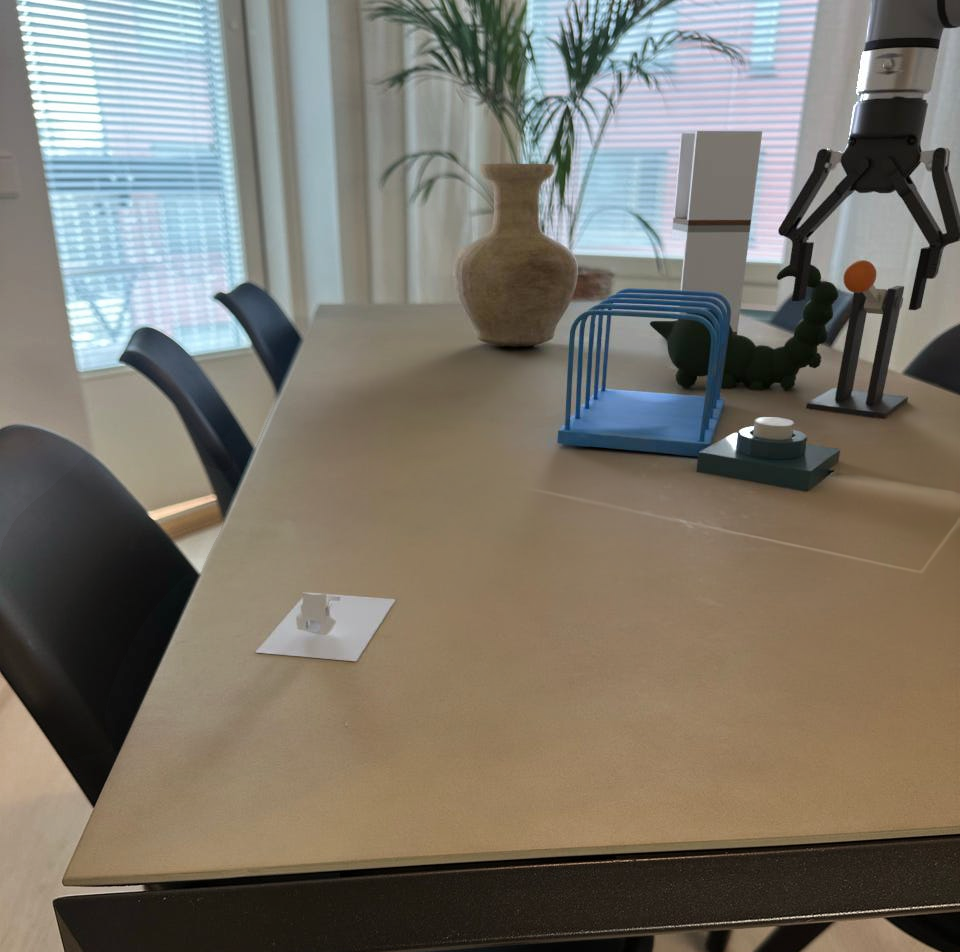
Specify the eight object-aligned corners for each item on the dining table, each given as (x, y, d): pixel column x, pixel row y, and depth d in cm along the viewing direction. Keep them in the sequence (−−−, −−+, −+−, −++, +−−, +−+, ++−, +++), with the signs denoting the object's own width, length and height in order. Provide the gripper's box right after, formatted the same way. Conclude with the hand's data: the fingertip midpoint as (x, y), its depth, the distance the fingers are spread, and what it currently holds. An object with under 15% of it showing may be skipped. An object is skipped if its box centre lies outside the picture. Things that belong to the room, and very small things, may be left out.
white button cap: (796, 436, 97) (799, 420, 96) (784, 444, 94) (786, 427, 93) (760, 431, 99) (762, 415, 98) (746, 438, 96) (749, 422, 96)
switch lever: (868, 289, 105) (877, 256, 105) (836, 287, 107) (845, 255, 106) (889, 319, 117) (897, 290, 116) (860, 317, 119) (868, 289, 118)
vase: (513, 360, 156) (516, 163, 142) (429, 344, 171) (425, 164, 157) (599, 345, 169) (609, 163, 156) (515, 331, 184) (517, 164, 170)
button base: (837, 469, 99) (843, 432, 97) (807, 492, 92) (814, 453, 90) (731, 451, 105) (736, 416, 103) (696, 472, 98) (700, 435, 96)
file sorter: (707, 460, 102) (724, 316, 95) (556, 448, 106) (561, 309, 99) (723, 410, 123) (738, 289, 116) (596, 402, 128) (603, 285, 121)
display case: (719, 334, 182) (742, 133, 166) (736, 342, 172) (762, 131, 156) (663, 334, 181) (680, 133, 165) (676, 343, 171) (696, 131, 156)
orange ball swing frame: (883, 425, 116) (909, 293, 109) (804, 414, 121) (825, 288, 114) (906, 407, 125) (932, 284, 117) (832, 398, 130) (853, 280, 123)
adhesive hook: (295, 637, 63) (290, 596, 62) (308, 621, 65) (304, 581, 64) (337, 640, 63) (333, 599, 61) (348, 624, 65) (345, 584, 63)
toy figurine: (810, 399, 136) (645, 373, 143) (845, 264, 127) (668, 243, 134) (808, 413, 128) (634, 385, 135) (845, 270, 119) (657, 247, 126)
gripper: (768, 100, 103) (742, 299, 113) (1013, 90, 90) (961, 316, 100) (790, 104, 108) (764, 293, 118) (1025, 95, 95) (974, 309, 105)
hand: (854, 304), depth 109 cm, fingers open, 13 cm apart
